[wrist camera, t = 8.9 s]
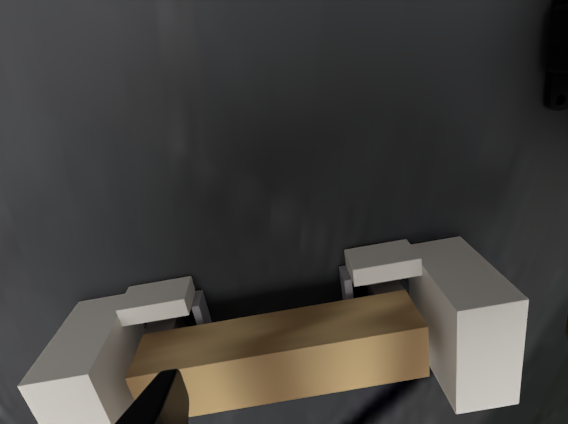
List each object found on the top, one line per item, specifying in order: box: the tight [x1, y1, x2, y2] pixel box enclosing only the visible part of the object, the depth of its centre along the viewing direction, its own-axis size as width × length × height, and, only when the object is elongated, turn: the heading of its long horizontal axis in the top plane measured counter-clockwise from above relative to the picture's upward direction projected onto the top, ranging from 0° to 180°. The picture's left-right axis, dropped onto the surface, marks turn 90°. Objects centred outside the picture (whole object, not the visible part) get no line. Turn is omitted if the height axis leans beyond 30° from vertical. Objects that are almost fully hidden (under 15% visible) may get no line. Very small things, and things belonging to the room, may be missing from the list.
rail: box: [125, 279, 429, 417], centre depth 21 cm, size 14×3×5 cm, turn 99°
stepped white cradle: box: [17, 236, 529, 424], centre depth 20 cm, size 22×7×6 cm, turn 99°
